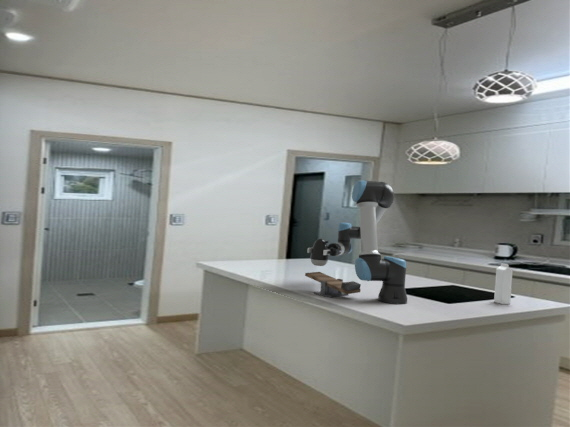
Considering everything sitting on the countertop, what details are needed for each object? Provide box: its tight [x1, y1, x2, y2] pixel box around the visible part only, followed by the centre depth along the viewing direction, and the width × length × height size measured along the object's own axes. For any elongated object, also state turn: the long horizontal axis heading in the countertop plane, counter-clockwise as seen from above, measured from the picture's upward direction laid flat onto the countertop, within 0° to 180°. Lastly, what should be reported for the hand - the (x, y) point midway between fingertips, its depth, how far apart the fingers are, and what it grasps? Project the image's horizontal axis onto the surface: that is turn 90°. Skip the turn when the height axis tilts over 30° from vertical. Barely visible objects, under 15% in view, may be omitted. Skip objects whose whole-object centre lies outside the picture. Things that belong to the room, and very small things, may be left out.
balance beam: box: [304, 271, 362, 295], centre depth 259 cm, size 30×12×4 cm, turn 45°
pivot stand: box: [313, 278, 349, 299], centre depth 260 cm, size 12×15×8 cm
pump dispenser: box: [310, 237, 330, 267], centre depth 266 cm, size 10×10×15 cm
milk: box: [493, 262, 514, 305], centre depth 265 cm, size 6×6×22 cm
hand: (315, 251), depth 263 cm, fingers closed on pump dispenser, 10 cm apart
